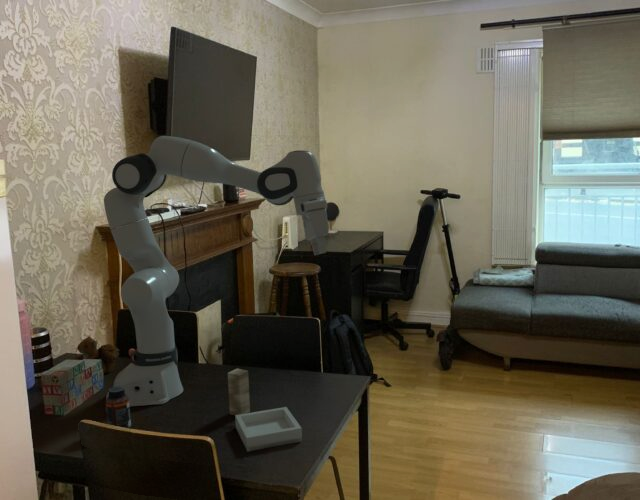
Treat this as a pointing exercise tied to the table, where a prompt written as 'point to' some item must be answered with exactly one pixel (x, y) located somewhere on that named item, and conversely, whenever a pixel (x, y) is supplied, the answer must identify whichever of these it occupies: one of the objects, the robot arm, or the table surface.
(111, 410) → the supplement bottle
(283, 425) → the tray
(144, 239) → the robot arm
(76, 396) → the stack of blocks
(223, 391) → the table surface
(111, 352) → the stuffed squirrel
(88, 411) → the table surface
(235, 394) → the handle block
